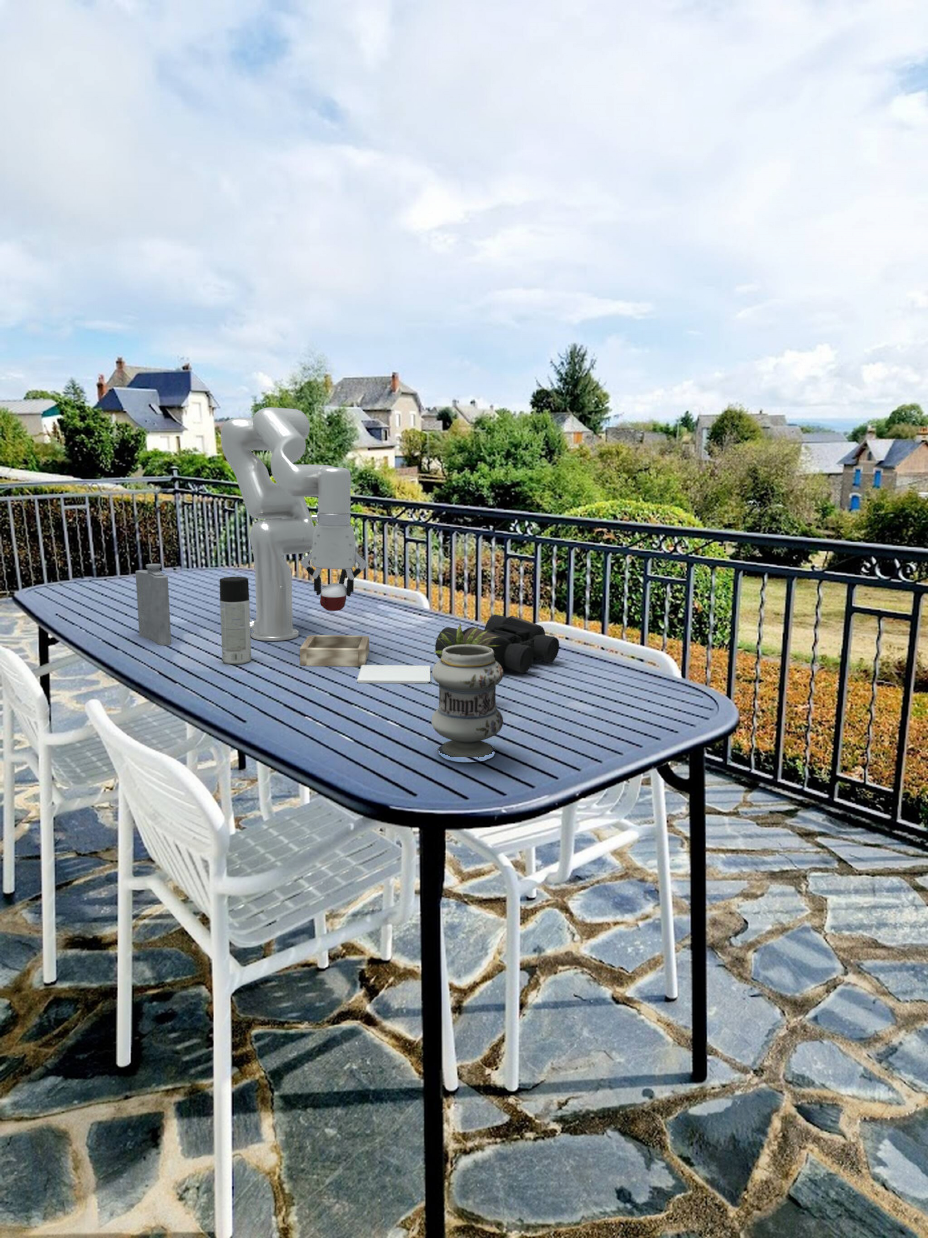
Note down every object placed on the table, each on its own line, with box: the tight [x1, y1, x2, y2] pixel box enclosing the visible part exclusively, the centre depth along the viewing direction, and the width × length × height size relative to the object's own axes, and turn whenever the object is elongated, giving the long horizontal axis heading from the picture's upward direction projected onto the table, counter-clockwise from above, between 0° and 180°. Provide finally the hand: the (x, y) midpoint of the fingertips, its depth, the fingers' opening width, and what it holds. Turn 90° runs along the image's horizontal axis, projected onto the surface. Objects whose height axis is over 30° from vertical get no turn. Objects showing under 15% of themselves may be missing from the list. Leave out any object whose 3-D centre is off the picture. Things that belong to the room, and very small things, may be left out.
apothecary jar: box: [430, 644, 504, 758], centre depth 133 cm, size 12×12×18 cm
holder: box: [299, 634, 370, 667], centre depth 195 cm, size 15×15×4 cm
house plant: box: [433, 623, 500, 655], centre depth 160 cm, size 14×14×16 cm
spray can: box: [219, 576, 252, 665], centre depth 188 cm, size 7×7×20 cm
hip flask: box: [135, 563, 172, 646], centre depth 208 cm, size 16×4×20 cm, turn 42°
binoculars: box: [434, 614, 560, 674], centre depth 194 cm, size 29×20×10 cm
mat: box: [356, 664, 431, 684], centre depth 181 cm, size 16×13×1 cm
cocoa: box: [319, 569, 347, 612], centre depth 192 cm, size 10×6×12 cm, turn 124°
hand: (333, 594), depth 192 cm, fingers closed on cocoa, 6 cm apart
